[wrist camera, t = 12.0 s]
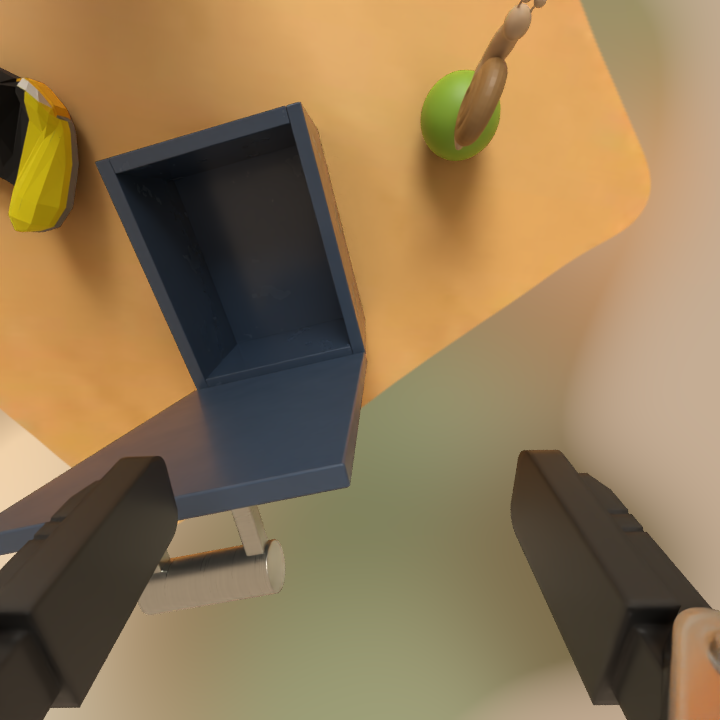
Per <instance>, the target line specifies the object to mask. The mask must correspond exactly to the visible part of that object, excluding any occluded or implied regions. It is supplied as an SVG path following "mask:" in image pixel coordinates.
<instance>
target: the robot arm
mask: <svg viewBox="0 0 720 720" xmlns="http://www.w3.org/2000/svg"><path fill="white" fill-rule="evenodd" d="M511 519H512V525H513V529H514V532H515V534H516V537H517V539H518V541H519V543H520V545H521V547H522V550H523V552H524V554H525V556H526V558H527V560H528V563H529V565H530V567H531V569H532V572H533V574H534V576H535V578H536V580H537V582H538V584H539V587H540V589H541V591H542V593H543V595H544V598H545V600H546V602H547V604H548V607H549V609H550V611H551V613H552V615H553V618H554V620H555V622H556V624H557V626H558V629H559V631H560V633H561V635H562V637H563V640H564V641H565V644H566V646H567V648H568V650H569V653H570V655H571V657H572V659H573V661H574V664H575V666H576V668H577V670H578V672H579V675H580V677H581V679H582V681H583V683H584V685H585V688H586V690H587V692H588V694H589V696H590V698H591V701H592V703H593V705H620V707H621V709H622V711H623V713H624V715H625V716H626V719H627V720H720V611H719V610H715V609H712V608H711V607H710V606H709V605H708V603H707V602H706V601H705V600H704V599H703V598H702V596H701V595H700V594H699V593H698V592H697V590H696V589H695V588H694V587H693V586H692V585H691V584H690V582H689V581H688V580H687V579H686V577H685V576H684V575H683V574H682V573H681V572H680V570H679V569H678V568H677V567H676V566H675V565H674V563H673V562H672V561H671V560H670V559H669V558H668V556H667V555H666V554H665V553H664V552H663V550H662V549H661V548H660V547H659V546H658V545H657V543H656V542H655V541H654V540H653V539H652V538H651V536H650V535H649V534H648V533H647V532H644V531H643V527H642V526H641V525H640V524H639V522H638V521H637V520H636V519H635V518H634V516H633V515H632V514H629V513H628V509H627V508H626V507H625V506H624V505H623V504H622V502H621V501H620V500H619V499H618V498H617V496H616V495H615V494H614V493H613V492H612V491H611V489H609V488H608V487H606V486H605V485H603V484H602V483H600V482H599V481H598V480H596V479H595V478H593V477H592V476H590V475H589V474H587V473H578V472H577V471H576V470H575V469H574V467H573V466H572V465H571V464H570V462H569V461H568V460H567V458H566V457H565V456H564V455H563V453H562V452H560V451H559V450H524V451H521V453H520V455H519V457H518V463H517V469H516V475H515V482H514V487H513V494H512V500H511ZM177 522H178V509H177V505H176V501H175V497H174V493H173V490H172V486H171V482H170V478H169V474H168V471H167V467H166V463H165V461H164V459H163V458H162V457H160V456H127V457H122V458H121V459H119V460H118V461H117V462H116V463H115V464H114V466H113V467H112V468H111V469H110V470H109V471H108V472H107V473H106V474H105V475H104V476H103V478H102V479H101V480H96V481H94V482H93V483H91V484H90V485H88V486H87V487H85V488H84V489H82V490H81V491H79V492H78V493H76V494H75V495H73V496H72V497H70V498H69V499H68V500H67V501H66V502H65V503H64V504H63V505H62V506H61V508H60V509H59V510H58V511H57V512H56V513H55V514H54V515H53V516H52V517H51V520H50V522H46V523H45V524H44V525H43V526H42V527H41V528H40V529H39V530H38V531H37V532H36V533H35V534H34V538H33V540H29V541H28V542H27V543H26V544H25V545H24V546H23V547H22V548H21V549H20V550H19V551H18V552H17V553H16V554H15V555H14V556H13V557H12V558H11V559H10V560H9V561H8V562H7V564H6V565H5V566H4V567H3V568H2V569H1V570H0V720H43V719H44V717H45V716H46V714H47V712H48V711H49V709H50V708H73V707H74V708H76V707H77V708H79V707H80V706H81V704H82V702H83V700H84V698H85V697H86V695H87V693H88V691H89V689H90V688H91V686H92V684H93V682H94V680H95V679H96V677H97V675H98V673H99V671H100V669H101V667H102V666H103V664H104V662H105V660H106V659H107V657H108V654H109V653H110V651H111V649H112V648H113V646H114V644H115V642H116V640H117V639H118V637H119V635H120V633H121V631H122V629H123V628H124V626H125V624H126V622H127V620H128V618H129V617H130V615H131V613H132V611H133V609H134V608H135V606H136V604H137V602H138V600H139V599H140V597H141V595H142V593H143V591H144V590H145V588H146V586H147V584H148V582H149V580H150V579H151V577H152V575H153V573H154V571H155V570H156V568H157V566H158V564H159V562H160V560H161V559H162V557H163V555H164V553H165V551H166V550H167V548H168V546H169V544H170V542H171V540H172V538H173V536H174V534H175V531H176V527H177Z"/></svg>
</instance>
